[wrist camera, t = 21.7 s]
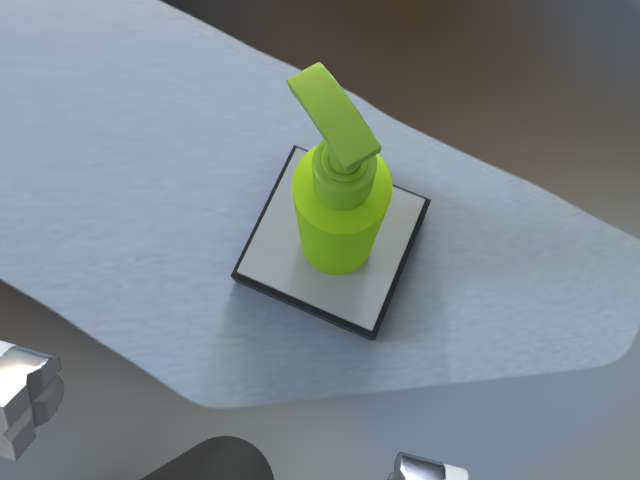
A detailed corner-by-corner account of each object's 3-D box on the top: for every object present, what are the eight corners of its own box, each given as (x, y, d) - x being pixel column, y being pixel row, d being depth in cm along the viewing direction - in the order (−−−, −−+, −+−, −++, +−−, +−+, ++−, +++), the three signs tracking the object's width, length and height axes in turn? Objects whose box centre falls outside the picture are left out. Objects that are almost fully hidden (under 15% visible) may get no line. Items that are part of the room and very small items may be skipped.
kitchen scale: (372, 341, 43) (375, 339, 40) (234, 280, 44) (228, 274, 41) (426, 207, 46) (433, 196, 43) (295, 154, 47) (293, 140, 44)
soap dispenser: (340, 184, 43) (355, 35, 24) (385, 251, 42) (439, 150, 22) (281, 219, 42) (246, 94, 23) (325, 288, 41) (326, 218, 22)
